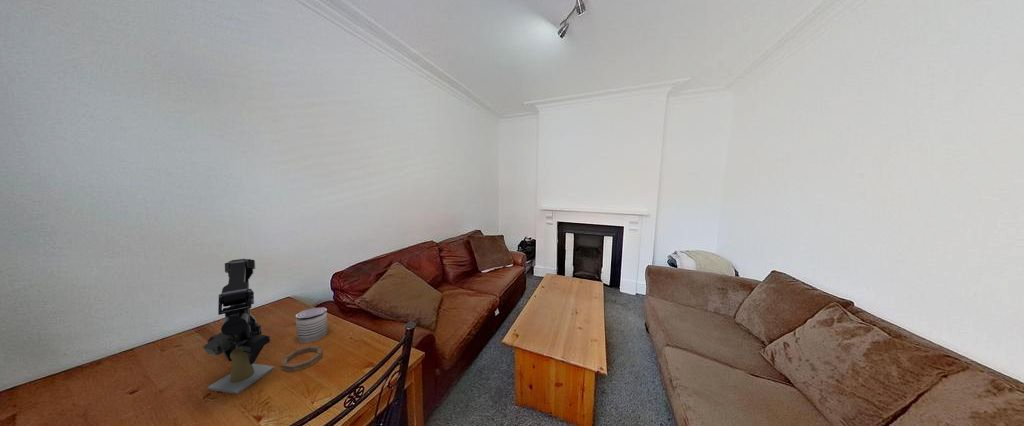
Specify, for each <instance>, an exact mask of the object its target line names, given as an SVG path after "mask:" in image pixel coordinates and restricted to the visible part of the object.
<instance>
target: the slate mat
mask: <svg viewBox="0 0 1024 426" xmlns="http://www.w3.org/2000/svg"><path fill="white" fill-rule="evenodd" d="M252 366H253V369H254V374H253V375H252V376H251V377H249V378H248V379H246V380H243V381H240V382H236V383H232V382H230V379H231V372H230V373H228V374H227V375H225V376H223V377H221V378H219V379H218V380H217V381H215V382H214V383H211V384H210V385H208V386H206V387H207V390H211V391H217V392H222V393H228V394H234V395H238V394H239V393H241V392H242V391H244V390H245V389H247V388H248V387H250V386H251V385H252V384H254V383H255V382H257V381H258V380H260V379H261V378H264V376H266V375H267V374H269V373H270V372H272V371H274V370H275V366H273V365H272V366H271V365H266V364H260V363H259V364H258V363H253V364H252Z"/></svg>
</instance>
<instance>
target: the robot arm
mask: <svg viewBox="0 0 1024 426" xmlns="http://www.w3.org/2000/svg"><path fill="white" fill-rule="evenodd" d="M255 269H256V261H255V259H251V258H250V259H249V258H238V259H232V260H229V261H227V262H225V263H224V273H225V274H228V275H227V276H228V283H227V284H226V285H225V286H224V287H222V290H221V293H219V294H218V309H217V310H218V312H217V313H218V316H220V315H224V318H223V319H224V320H223V321H222V325H221V328H220V332H219V333H217V334H215V335H212V336H210V338H209V339H208V340H207V343H206V344H204V345H203V347H202V348H203V350H204V351H205V352H206V353H207V354H208V355H213V356H219V355H221V354H222V353H223V355H224V357H225V358H226V359H227V361H228V362H231V361H232V360H231V358H230V354H231V352H232V351H233V350H234V349H236V348H238V347H241V346H242V349H243V350H244V351H242V352H245V353H247V354H248V359H249V363H250V364H255V362H256V361H257V358H258V356H259V354H260V353H261V351H262V349H263V348H264V347H265V346H266V345H268V344H269V343H270V342H271V337H270V335H266V334H265V335H264V334H262V326H261V325H260V323H259V322H257V319H256V317H254V316H253V315H252V314H251V309H252V306H253V305H254V304H255V295H254V293H255V292H254V291H253V289H252V288H250V279H251V277H252V276H253V274H254V270H255Z"/></svg>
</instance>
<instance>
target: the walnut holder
mask: <svg viewBox="0 0 1024 426" xmlns="http://www.w3.org/2000/svg"><path fill="white" fill-rule="evenodd" d="M306 353H316V354H315V355H314V356H312V357H311V358H310V359H308V360H305V361H302V362H299V363H288V362H290V361H291V360H292V359H294V358H296V357H297V356H298V355H299V356H300V355H303V354H306ZM322 358H323V348H322V346H320V345H314V344H310V345H306V346H303V347H299V348H296V349H294V350H293V351H291V352H289V353H288V354H287V355H285V356H283V357H282V360H281V365H280V366H281V367H280V368H281V370H282V371H286V372H291V373H292V372H299V371H301V370H304V369H306V368H309V367H312V366H313V365H314V364H316V363H317V362H318V361H320V360H321V359H322Z"/></svg>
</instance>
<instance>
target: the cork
mask: <svg viewBox="0 0 1024 426" xmlns="http://www.w3.org/2000/svg"><path fill="white" fill-rule="evenodd" d="M242 351H244V350H243V349H242V346H241V347H238V348H236V349H234V350H233V351H232V352H231V354H230V358H231V361H232V364H231V372H230V373H231V379H230V382H232V383H236V382H240V381H243V380H246V379H248V378H249V377H251V376H252V375H253V374H254V369H253V366H252V364H250V363H249V359H248V354H247V353H245V352H242Z"/></svg>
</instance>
